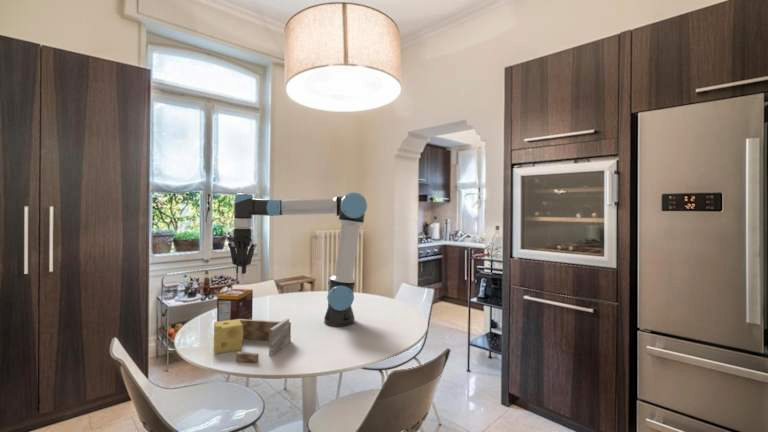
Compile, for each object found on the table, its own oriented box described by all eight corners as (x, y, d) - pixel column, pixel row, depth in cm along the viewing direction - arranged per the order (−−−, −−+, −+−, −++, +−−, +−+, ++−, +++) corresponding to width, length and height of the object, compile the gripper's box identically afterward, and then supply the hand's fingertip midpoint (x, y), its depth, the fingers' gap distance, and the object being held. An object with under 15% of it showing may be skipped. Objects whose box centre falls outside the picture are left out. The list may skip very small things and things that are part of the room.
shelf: (290, 341, 151) (290, 317, 151) (262, 363, 128) (263, 336, 128) (237, 337, 155) (237, 314, 155) (201, 358, 132) (201, 331, 132)
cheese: (214, 354, 136) (214, 328, 136) (213, 345, 146) (213, 320, 146) (243, 350, 141) (243, 325, 141) (240, 341, 150) (240, 317, 150)
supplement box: (252, 319, 181) (253, 289, 181) (237, 329, 166) (237, 295, 166) (233, 318, 182) (233, 288, 182) (216, 328, 167) (216, 295, 167)
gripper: (260, 228, 162) (258, 280, 162) (234, 227, 164) (232, 278, 164) (251, 228, 154) (249, 283, 154) (224, 227, 157) (222, 281, 157)
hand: (241, 280), depth 159 cm, fingers closed
